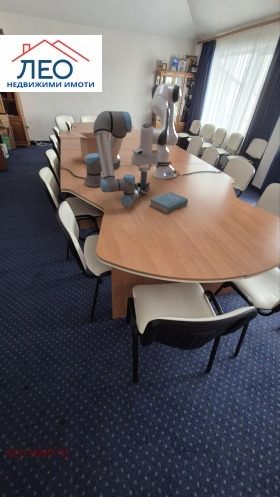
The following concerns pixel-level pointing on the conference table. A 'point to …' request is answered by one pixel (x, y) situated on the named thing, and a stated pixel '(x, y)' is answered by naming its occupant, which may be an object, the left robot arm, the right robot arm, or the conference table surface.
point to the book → (168, 202)
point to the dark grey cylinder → (143, 180)
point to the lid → (144, 169)
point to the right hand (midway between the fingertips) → (144, 170)
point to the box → (87, 143)
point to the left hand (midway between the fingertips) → (145, 183)
